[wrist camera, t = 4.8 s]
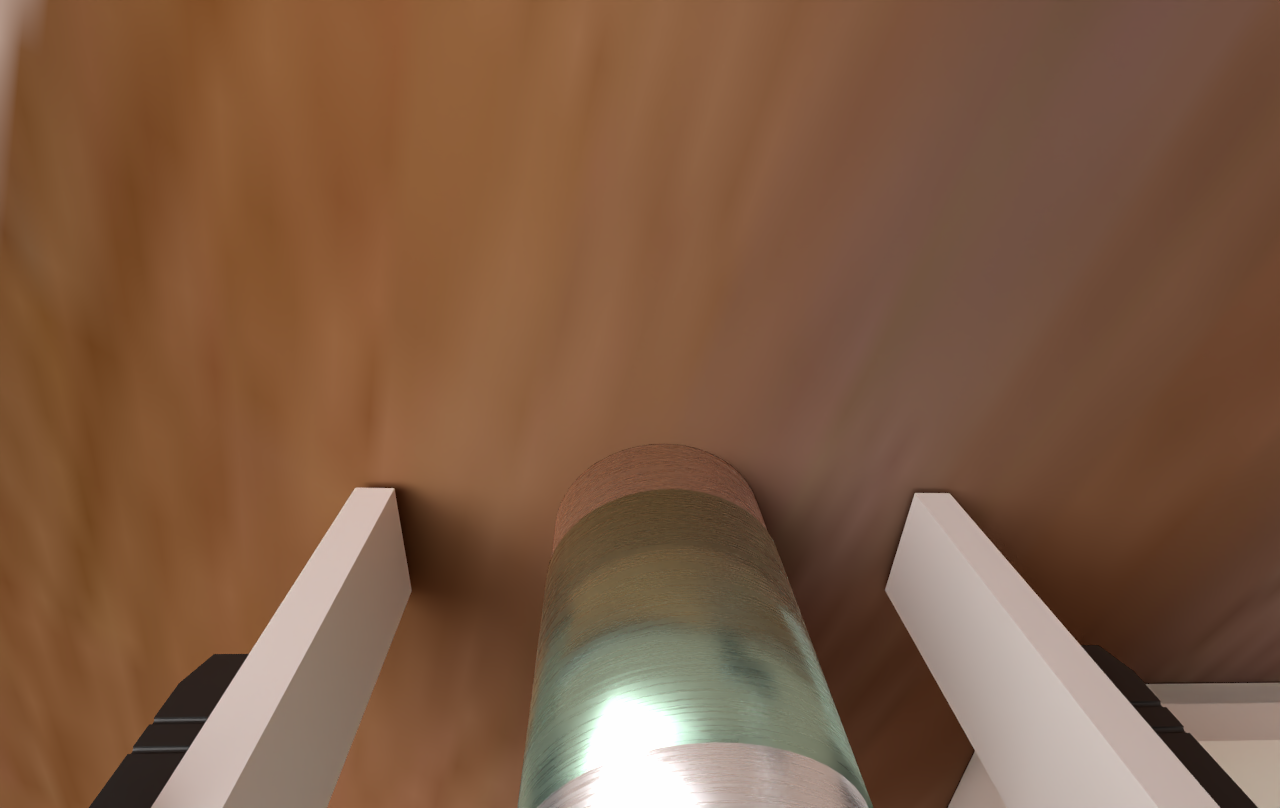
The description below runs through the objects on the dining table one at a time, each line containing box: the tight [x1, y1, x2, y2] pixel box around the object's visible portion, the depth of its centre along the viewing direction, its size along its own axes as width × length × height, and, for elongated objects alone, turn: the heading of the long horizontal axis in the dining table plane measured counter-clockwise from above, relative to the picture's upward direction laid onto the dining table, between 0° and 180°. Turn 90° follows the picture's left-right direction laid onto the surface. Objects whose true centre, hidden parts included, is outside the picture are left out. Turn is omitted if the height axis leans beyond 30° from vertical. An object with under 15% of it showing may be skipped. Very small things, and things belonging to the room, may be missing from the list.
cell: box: [518, 444, 873, 808], centre depth 9 cm, size 4×4×8 cm
